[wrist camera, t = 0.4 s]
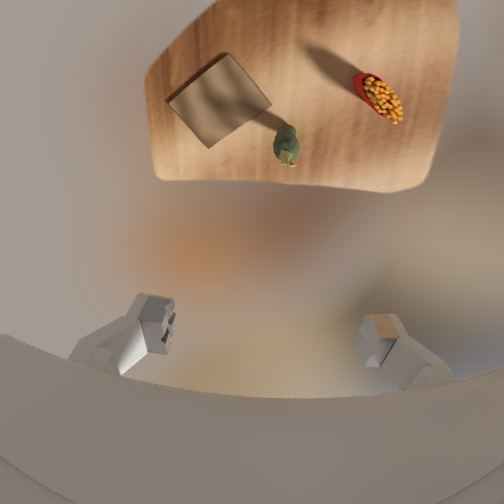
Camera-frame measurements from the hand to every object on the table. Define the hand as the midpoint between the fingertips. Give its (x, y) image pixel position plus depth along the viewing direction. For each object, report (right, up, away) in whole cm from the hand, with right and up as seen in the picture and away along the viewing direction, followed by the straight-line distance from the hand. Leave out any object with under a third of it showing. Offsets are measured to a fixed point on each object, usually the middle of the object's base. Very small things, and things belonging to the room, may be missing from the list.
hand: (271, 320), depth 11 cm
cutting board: (-8, +34, +40) cm, 53 cm away
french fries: (+22, +35, +33) cm, 53 cm away
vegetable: (+7, +29, +42) cm, 51 cm away
